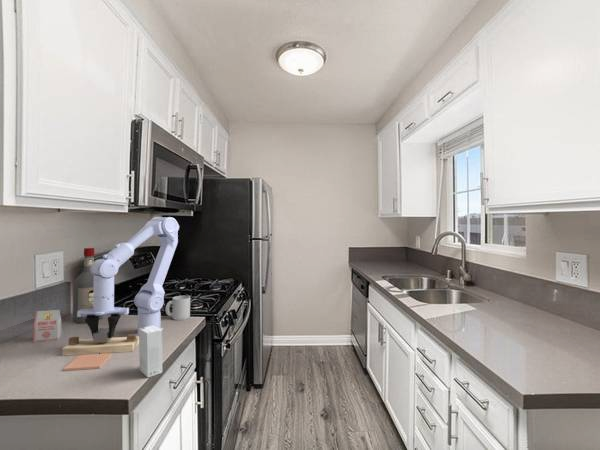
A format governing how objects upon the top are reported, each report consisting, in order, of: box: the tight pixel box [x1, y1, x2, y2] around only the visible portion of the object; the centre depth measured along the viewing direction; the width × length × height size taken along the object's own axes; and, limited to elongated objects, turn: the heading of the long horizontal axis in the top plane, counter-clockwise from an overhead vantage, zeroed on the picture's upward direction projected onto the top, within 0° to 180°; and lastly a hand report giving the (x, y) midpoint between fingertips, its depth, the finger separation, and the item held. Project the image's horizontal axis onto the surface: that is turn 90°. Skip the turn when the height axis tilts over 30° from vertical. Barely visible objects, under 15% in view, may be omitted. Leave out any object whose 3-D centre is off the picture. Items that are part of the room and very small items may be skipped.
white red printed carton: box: [32, 309, 62, 342], centre depth 108 cm, size 4×7×10 cm, turn 111°
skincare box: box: [138, 325, 163, 378], centre depth 87 cm, size 6×4×12 cm
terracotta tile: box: [63, 353, 113, 372], centre depth 92 cm, size 9×9×1 cm
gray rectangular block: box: [92, 327, 111, 343], centre depth 101 cm, size 5×4×3 cm
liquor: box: [72, 247, 104, 324], centre depth 130 cm, size 9×9×30 cm
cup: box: [165, 295, 191, 321], centre depth 134 cm, size 7×10×9 cm
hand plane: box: [61, 333, 139, 356], centre depth 101 cm, size 8×20×4 cm, turn 102°
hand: (103, 337), depth 101 cm, fingers closed on gray rectangular block, 4 cm apart
